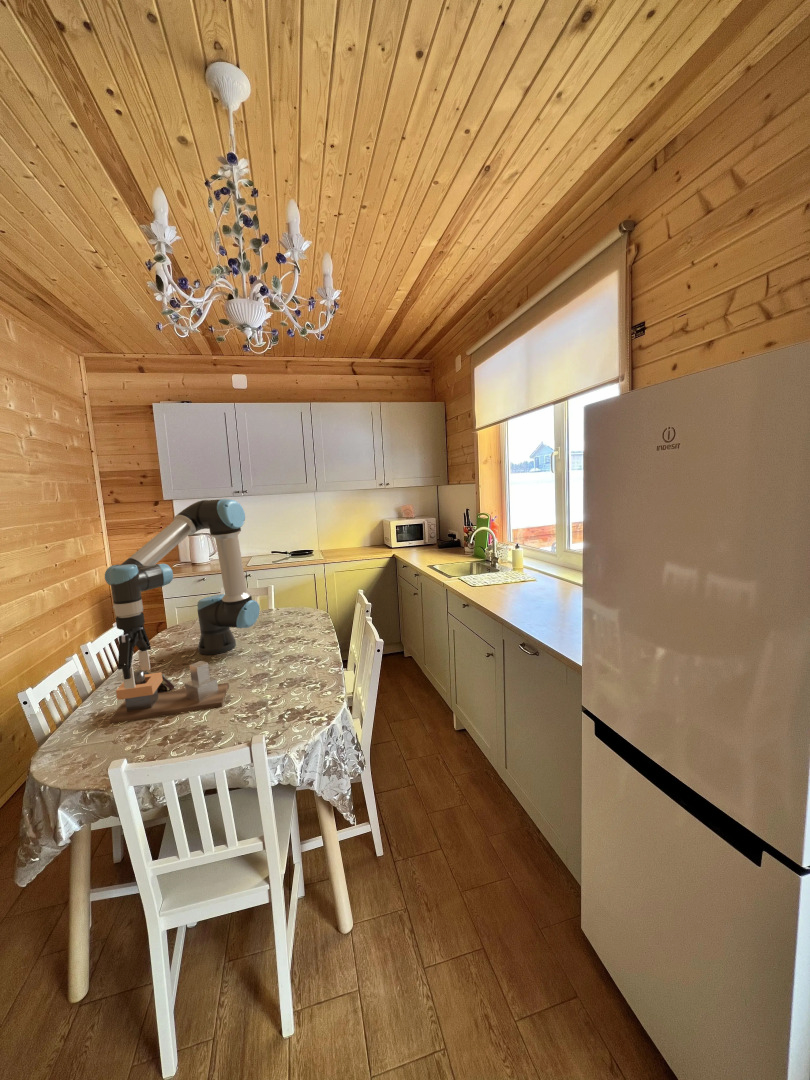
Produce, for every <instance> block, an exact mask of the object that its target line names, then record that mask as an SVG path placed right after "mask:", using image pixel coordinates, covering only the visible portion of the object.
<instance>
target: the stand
mask: <svg viewBox="0 0 810 1080" xmlns="http://www.w3.org/2000/svg"><path fill="white" fill-rule="evenodd" d="M144 671H145V670H144ZM144 671H143V670H141V669H140V670H137V671H136V670H135V671H133V672H134V679H135V685H138V684H145V676H144ZM157 699H158V691H157V690H156V691H155V692H154V694H153V695H147V696H140V697H134V698H127V699H124V701H125V702H126V708H127V712H128V711H135V710H141V709H148V708H152V706H153V705H154V703H155V702H156V700H157Z"/></svg>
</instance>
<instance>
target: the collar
mask: <svg viewBox="0 0 810 1080" xmlns="http://www.w3.org/2000/svg"><path fill="white" fill-rule="evenodd" d="M162 674H163V673H162V671H161V672H160V671H159V672H152V673H149V674H145V675H144V676H145V684H138V685H135V688H129V689H125V687H124V681H123V682H122V683H121V684H120V686H119V687H118V688H117V689H116V690H115V694H116V698H117V701H120V700H125V699H127V698H134V697H140V696H147V695H153V694H154V692H155V691H156V690H157V688H158V687H159V685H160V684H161V682H162V681H163V679H162Z"/></svg>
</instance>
